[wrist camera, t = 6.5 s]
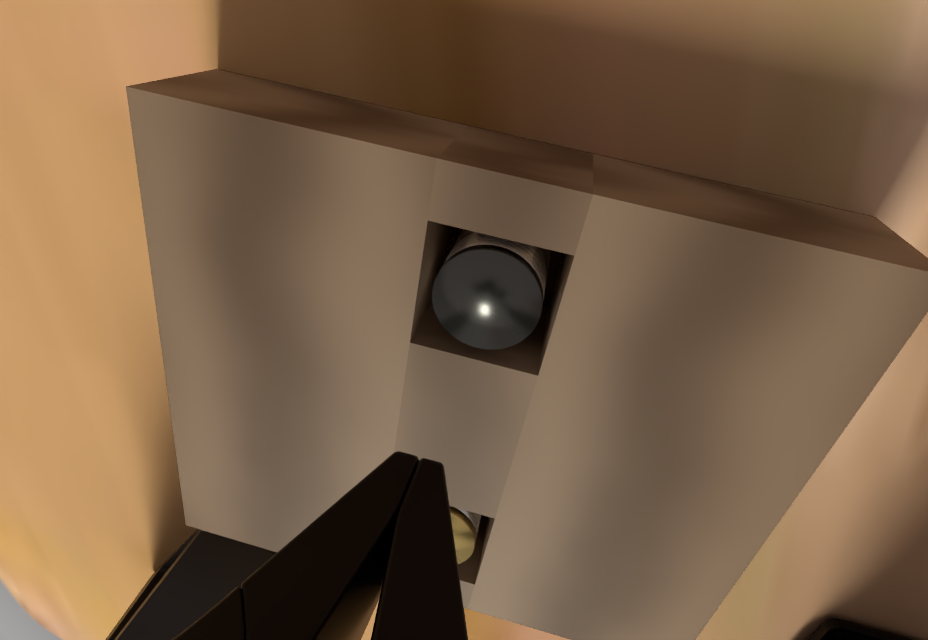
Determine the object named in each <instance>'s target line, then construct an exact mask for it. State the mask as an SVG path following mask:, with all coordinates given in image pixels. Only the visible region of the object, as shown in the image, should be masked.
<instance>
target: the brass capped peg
mask: <svg viewBox="0 0 928 640" xmlns="http://www.w3.org/2000/svg"><path fill="white" fill-rule="evenodd" d="M450 513H451V520H452V527H453V534H454V542H455V549H456V556H457V564H460V563H462V562H464V561H466V560H467V559H468V558H469V557H470V556H471V555H472V553H473V551H474V546H475V542H476V537H477V533H478V528H479V523H480V519H481V515H480V514H477V513H473V512H470V511H466V510H462V509H459V508H455V507H452V506H450Z"/></svg>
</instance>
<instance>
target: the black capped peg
mask: <svg viewBox="0 0 928 640" xmlns="http://www.w3.org/2000/svg"><path fill="white" fill-rule="evenodd" d="M550 257H551V250H549V249H544V248H540V247H536V246H532V245H528V244H524V243H519V242H515V241H511V240H507V239H503V238H499V237H494V236H490V235H486V234H482V233H478V232H474V231H469V230H465V229H463V230H462V232H461V234H460V235H459V237H458V239H457V241H456V242H455V244H454V246H453V248H452V250H451V251H450V253H449V255H448V257H447V259H446V260H445V262H444V264H443V266H442V267H441V269H440V271H439V273H438V275H437V276H436V279H435V281H434V284H433V289H432V303H433V308H434V311H435V314H436V316H437V318H438V320H439V321H440V323H441V324H442V326H443V327H444V328H445V329H446V331H448V332H449V333H450V334H451V335H452V336H453V337H455V338H456V339H457V340H459V341H461V342H463V343H465V344H467V345H469V346H472V347H476V348H480V349H489V350H493V349H503V348H507V347H510V346H513V345H515V344H517V343H519V342H521V341H522V340H524V339H525V338H526V337H528V336H529V335H530V334H531V333H532V331H533V330H534V329H535V327H536V325H537V324H538V322H539V319H540V316H541V311H542V306H543V300H544V293H545V287H546V281H547V275H548V269H549V263H550Z"/></svg>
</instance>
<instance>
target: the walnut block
mask: <svg viewBox="0 0 928 640" xmlns="http://www.w3.org/2000/svg"><path fill="white" fill-rule="evenodd" d="M126 90H127V98H128V105H129V112H130V120H131V127H132V134H133V142H134V149H135V156H136V164H137V171H138V178H139V186H140V193H141V200H142V208H143V215H144V222H145V230H146V237H147V244H148V252H149V259H150V267H151V274H152V281H153V289H154V296H155V303H156V311H157V318H158V325H159V333H160V340H161V347H162V355H163V362H164V369H165V377H166V384H167V391H168V399H169V406H170V413H171V421H172V428H173V435H174V443H175V450H176V457H177V465H178V472H179V479H180V487H181V494H182V501H183V509H184V516H185V523H186V526H190V527H193V528H197V529H200V530H203V531H207V532H210V533H213V534H217V535H220V536H224V537H227V538H230V539H234V540H237V541H240V542H244V543H247V544H251V545H254V546H257V547H261V548H264V549H267V550H271V551H274V552H278V551H280V550H281V549H282V548H283V547H284V546H285V545H287V544H288V543H289V542H290V541H291V540H292V539H294V538H295V537H296V536H297V535H298V534H299V533H301V532H302V531H303V530H304V529H305V528H306V527H308V526H309V525H310V524H311V523H312V522H313V521H315V520H316V519H317V518H318V517H319V516H320V515H322V514H323V513H324V512H325V511H326V510H327V509H329V508H330V507H331V506H332V505H333V504H334V503H336V502H337V501H338V500H339V499H340V498H341V497H343V496H344V495H345V494H346V493H347V492H348V491H350V490H351V489H352V488H353V487H354V486H355V485H357V484H358V483H359V482H360V481H361V480H362V479H364V478H365V477H366V476H367V475H368V474H369V473H371V472H372V471H373V470H374V469H375V468H376V467H378V466H379V465H380V464H381V463H382V462H383V461H385V460H386V459H387V458H388V457H389V456H390V455H392V454H393V453H394V452H397V451H401V452H404V453H408V454H412V455H415V456H417V457H418V458H419V460H420V459H421V458H426V459H430V460H434V461H437V462H441V463H442V464H443V465H444V469H445V476H446V484H447V491H448V498H449V505H450V506H452V507H455V508H459V509H462V510H466V511H470V512H473V513H477V514H480V515H481V519H480V523H479V528H478V533H477V537H476V542H475V546H474V551H473V553H472V555H471V556H470V557H469V558H468V559H467V560H466V561H464V562H462V563H460V564H458V571H459V578H460V585H461V593H462V600H463V607H464V608H466V609H470V610H473V611H476V612H480V613H483V614H487V615H490V616H493V617H497V618H500V619H503V620H507V621H510V622H514V623H517V624H520V625H524V626H527V627H530V628H534V629H537V630H540V631H544V632H547V633H551V634H554V635H557V636H561V637H564V638H567V639H571V640H696V638H697V637H698V636H699V634H700V633H701V631H702V630H703V628H704V627H705V626H706V624H707V623H708V621H709V620H710V619H711V617H712V616H713V614H714V613H715V612H716V610H717V609H718V607H719V606H720V604H721V603H722V602H723V600H724V599H725V597H726V596H727V595H728V593H729V592H730V590H731V589H732V588H733V586H734V585H735V583H736V582H737V580H738V579H739V578H740V576H741V575H742V573H743V572H744V571H745V569H746V568H747V566H748V565H749V564H750V562H751V561H752V559H753V558H754V556H755V555H756V554H757V552H758V551H759V549H760V548H761V547H762V545H763V544H764V542H765V541H766V540H767V538H768V537H769V535H770V534H771V532H772V531H773V530H774V528H775V527H776V525H777V524H778V523H779V521H780V520H781V518H782V517H783V516H784V514H785V513H786V511H787V510H788V508H789V507H790V506H791V504H792V503H793V501H794V500H795V499H796V497H797V496H798V494H799V493H800V492H801V490H802V489H803V487H804V486H805V484H806V483H807V482H808V480H809V479H810V477H811V476H812V475H813V473H814V472H815V470H816V469H817V468H818V466H819V465H820V463H821V462H822V460H823V459H824V458H825V456H826V455H827V453H828V452H829V451H830V449H831V448H832V446H833V445H834V444H835V442H836V441H837V439H838V438H839V436H840V435H841V434H842V432H843V431H844V429H845V428H846V427H847V425H848V424H849V422H850V421H851V420H852V418H853V417H854V415H855V414H856V412H857V411H858V410H859V408H860V407H861V405H862V404H863V403H864V401H865V400H866V398H867V397H868V396H869V394H870V393H871V391H872V390H873V388H874V387H875V386H876V384H877V383H878V381H879V380H880V379H881V377H882V376H883V374H884V373H885V372H886V370H887V369H888V367H889V366H890V364H891V363H892V362H893V360H894V359H895V357H896V356H897V355H898V353H899V352H900V350H901V349H902V348H903V346H904V345H905V343H906V342H907V340H908V339H909V338H910V336H911V335H912V333H913V332H914V331H915V329H916V328H917V326H918V325H919V324H920V322H921V321H922V319H923V318H924V316H925V315H926V314H927V312H928V258H927V257H926V256H924V255H923V254H922V253H920V252H919V251H918V250H917V249H915V248H914V247H913V246H911V245H910V244H909V243H908V242H906V241H905V240H904V239H903V238H901V237H900V236H899V235H897V234H896V233H895V232H894V231H892V230H891V229H890V228H888V227H887V226H886V225H885V224H883V223H882V222H881V221H879V220H878V219H877V218H876V217H872V216H867V215H863V214H859V213H854V212H850V211H845V210H841V209H836V208H832V207H827V206H823V205H819V204H814V203H810V202H805V201H801V200H796V199H792V198H787V197H783V196H779V195H774V194H770V193H765V192H761V191H756V190H752V189H747V188H743V187H739V186H734V185H730V184H725V183H721V182H716V181H712V180H707V179H703V178H699V177H694V176H690V175H685V174H681V173H676V172H672V171H667V170H663V169H659V168H654V167H650V166H645V165H641V164H636V163H632V162H627V161H623V160H619V159H614V158H610V157H605V156H601V155H596V154H592V153H587V152H583V151H579V150H574V149H570V148H565V147H561V146H556V145H552V144H547V143H543V142H539V141H534V140H530V139H525V138H521V137H516V136H512V135H507V134H503V133H499V132H494V131H490V130H485V129H481V128H476V127H472V126H467V125H463V124H458V123H454V122H450V121H445V120H441V119H436V118H432V117H427V116H423V115H418V114H414V113H410V112H405V111H401V110H396V109H392V108H387V107H383V106H378V105H374V104H370V103H365V102H361V101H356V100H352V99H347V98H343V97H338V96H334V95H330V94H325V93H321V92H316V91H312V90H307V89H303V88H298V87H294V86H290V85H285V84H281V83H276V82H272V81H267V80H263V79H258V78H254V77H250V76H245V75H241V74H236V73H232V72H227V71H223V70H218V69H215V70H210V71H204V72H199V73H194V74H189V75H183V76H178V77H173V78H168V79H163V80H157V81H152V82H147V83H142V84H137V85H131V86H126ZM451 226H453V227H457V228H461V229H465V230H469V231H474V232H478V233H482V234H486V235H490V236H494V237H499V238H503V239H507V240H511V241H515V242H519V243H524V244H528V245H532V246H536V247H540V248H544V249H549V250H553V251H557V252H561V253H564V255H563V259H562V262H561V266H560V269H559V273H558V276H557V279H556V283H555V286H554V290H553V293H552V297H551V300H550V304H549V307H548V309H545V308H542V311H541V316H540V319H539V322H538V324H537V325H536V327H535V329H534V330H533V331H532V333H531V334H530V335H529V336H528V337H526V338H525V339H524V340H522V341H521V342H519V343H517V344H515V345H513V346H510V347H507V348H503V349H493V350H489V349H480V348H476V347H472V346H469V345H467V344H465V343H463V342H461V341H459V340H457V339H456V338H455V337H453V336H452V335H451V334H450V333H449V332H448V331H446V329H445V328H444V327H443V326H442V324H441V323H440V321H439V320H438V318H437V316H436V314H435V311H434V308H433V303H432V289H433V284H434V281H435V279H436V276H437V275H438V273H439V271H440V269H441V267H442V266H443V264H444V262H445V259H446V254H447V248H448V242H449V236H450V230H451Z"/></svg>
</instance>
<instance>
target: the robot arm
mask: <svg viewBox="0 0 928 640" xmlns="http://www.w3.org/2000/svg"><path fill="white" fill-rule="evenodd" d="M379 597H380V598H379ZM378 600H379V603H378V608H377V613H376V617H375V622H374V627H373V632H372V637H371V640H468V636H467V629H466V622H465V614H464V607H463V600H462V593H461V585H460V578H459V571H458V564H457V556H456V549H455V542H454V534H453V527H452V520H451V513H450V505H449V498H448V491H447V484H446V476H445V469H444V465H443V464H442V463H441V462H437V461H434V460H430V459H426V458H421V459H420V460H419V458H418V457H417V456H415V455H412V454H408V453H404V452H401V451H397V452H394V453H393V454H392V455H390V456H389V457H388V458H387V459H386V460H385V461H383V462H382V463H381V464H380V465H379V466H378V467H376V468H375V469H374V470H373V471H372V472H371V473H369V474H368V475H367V476H366V477H365V478H364V479H362V480H361V481H360V482H359V483H358V484H357V485H355V486H354V487H353V488H352V489H351V490H350V491H348V492H347V493H346V494H345V495H344V496H343V497H341V498H340V499H339V500H338V501H337V502H336V503H334V504H333V505H332V506H331V507H330V508H329V509H327V510H326V511H325V512H324V513H323V514H322V515H320V516H319V517H318V518H317V519H316V520H315V521H313V522H312V523H311V524H310V525H309V526H308V527H306V528H305V529H304V530H303V531H302V532H301V533H299V534H298V535H297V536H296V537H295V538H294V539H292V540H291V541H290V542H289V543H288V544H287V545H285V546H284V547H283V548H282V549H281V550H280V551H278V552H277V553H276V554H275V555H274V556H273V557H271V558H270V559H269V560H268V561H267V562H266V563H264V564H263V565H262V566H261V567H260V568H259V569H257V570H256V571H255V572H254V573H253V574H252V575H250V576H249V577H248V578H247V579H246V580H245V581H243V582H242V584H241V587H236V588H235V589H234V590H233V591H231V592H230V593H229V594H228V595H227V596H226V597H224V598H223V599H222V600H221V601H220V602H219V603H217V604H216V605H215V606H214V607H213V608H211V609H210V610H209V611H208V612H206V613H205V614H204V615H203V616H202V617H200V618H199V619H198V620H197V621H195V622H194V623H193V624H192V625H190V626H189V627H188V628H187V629H186V630H184V631H183V632H182V633H180V634H179V635H178V636H176V637H175V638H174V639H172V640H361V638H362V636H363V634H364V631H365V629H366V627H367V625H368V622H369V620H370V618H371V616H372V613H373V611H374V609H375V607H376V604H377V602H378ZM808 640H911V639H908V638H904V637H901V636H897V635H894V634H890V633H887V632H883V631H880V630H876V629H873V628H869V627H865V626H862V625H858V624H855V623H851V622H848V621H844V620H840V619H830V620H827V621H825V622H824V623H823V624H822V625H821V626H820V627H819V628H818V629H817V631H816V632H815V633H814V634H813V635H812V636H811V637H810V638H809V639H808Z"/></svg>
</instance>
